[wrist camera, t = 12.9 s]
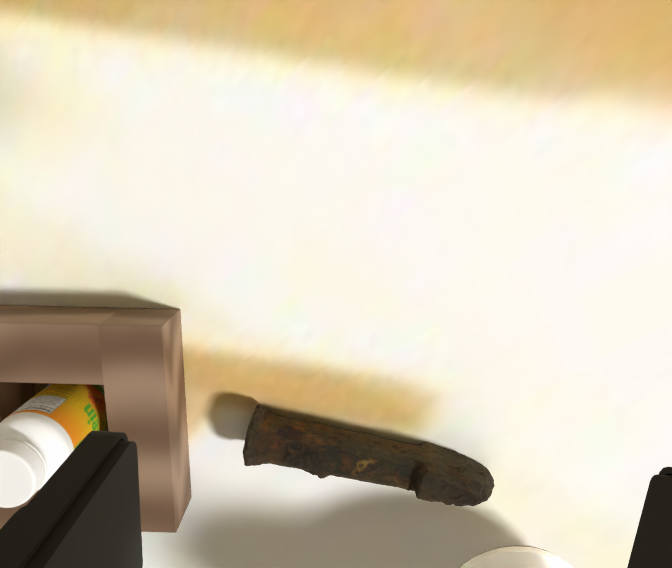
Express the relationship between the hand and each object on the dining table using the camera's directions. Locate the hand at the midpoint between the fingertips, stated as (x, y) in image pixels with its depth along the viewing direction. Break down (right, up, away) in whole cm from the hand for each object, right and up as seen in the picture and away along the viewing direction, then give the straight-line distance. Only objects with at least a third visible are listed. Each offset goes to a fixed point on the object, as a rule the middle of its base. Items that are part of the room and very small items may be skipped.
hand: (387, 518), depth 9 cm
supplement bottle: (-21, -5, +31) cm, 38 cm away
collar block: (-21, -5, +31) cm, 38 cm away
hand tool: (+2, -8, +32) cm, 33 cm away
